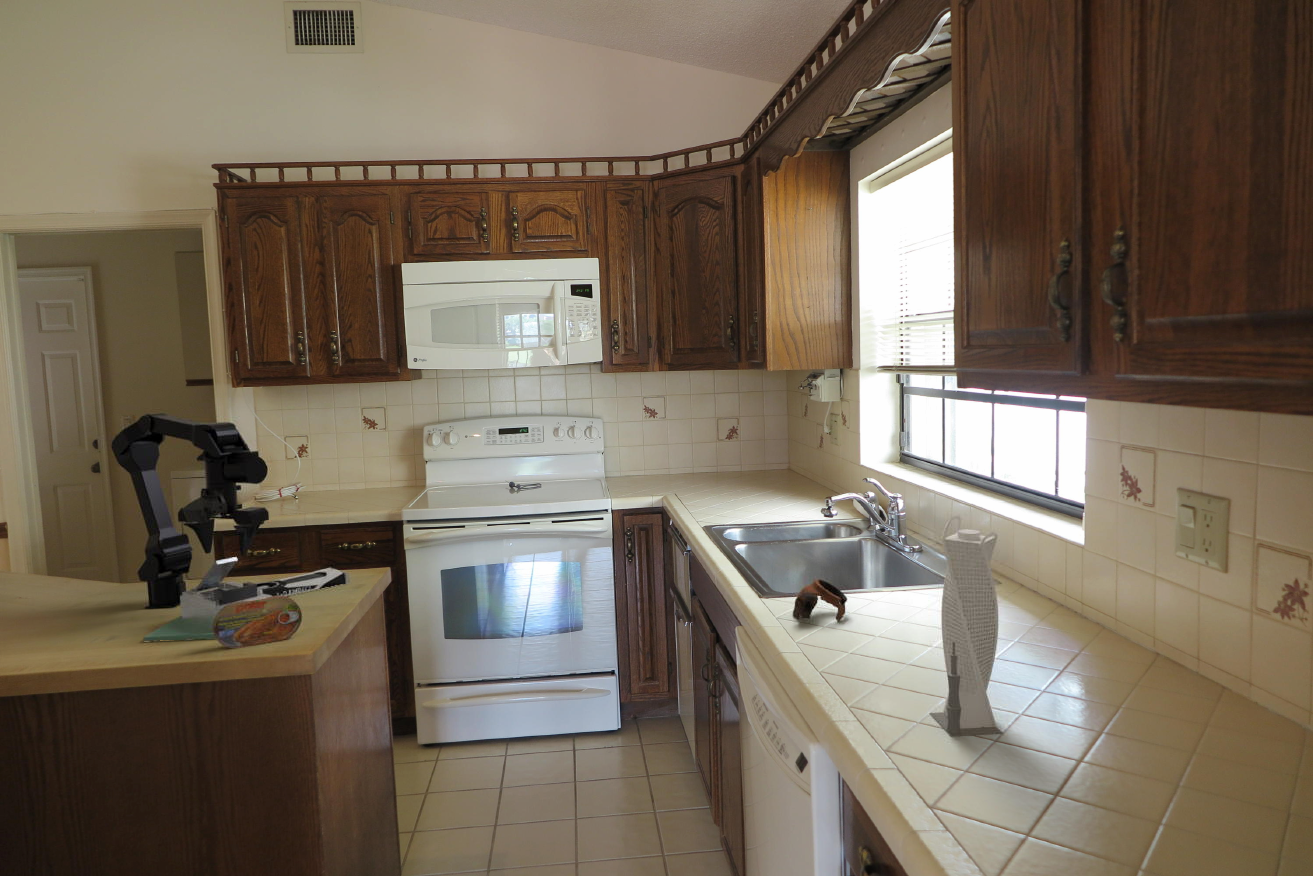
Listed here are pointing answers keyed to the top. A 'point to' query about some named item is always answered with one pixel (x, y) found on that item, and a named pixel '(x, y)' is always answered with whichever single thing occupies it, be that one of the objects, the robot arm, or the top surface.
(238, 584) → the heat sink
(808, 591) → the brown curved loop
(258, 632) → the tin
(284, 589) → the graphics card
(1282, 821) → the top surface
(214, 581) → the grey rectangular slab
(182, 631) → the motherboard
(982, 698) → the skyscraper
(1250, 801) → the top surface
